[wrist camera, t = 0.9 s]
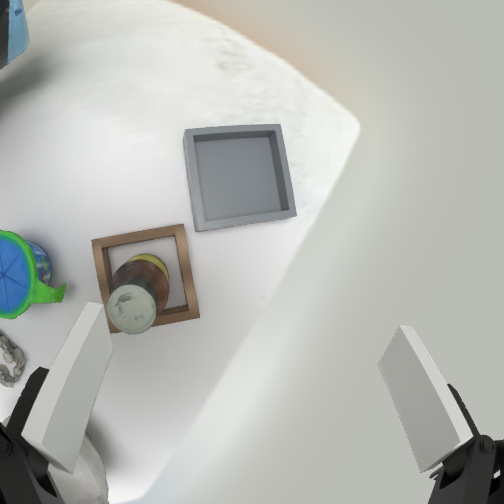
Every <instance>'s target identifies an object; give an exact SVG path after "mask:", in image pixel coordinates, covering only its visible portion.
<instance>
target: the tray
mask: <svg viewBox="0 0 504 504" xmlns="http://www.w3.org/2000/svg"><path fill="white" fill-rule="evenodd" d="M183 144H184V153H185V161H186V169H187V177H188V184H189V192H190V199H191V206H192V213H193V219H194V226H195V232H200V231H206V230H212V229H219V228H225V227H232V226H238V225H245V224H251V223H258V222H265V221H272V220H279V219H286V218H291V217H295V216H297V213H296V207H295V201H294V195H293V189H292V183H291V178H290V172H289V167H288V161H287V156H286V150H285V145H284V140H283V135H282V130H281V125H280V124H260V125H235V126H219V127H206V128H195V129H185V132H184V137H183Z"/></svg>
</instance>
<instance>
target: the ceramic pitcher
mask: <svg viewBox="0 0 504 504" xmlns="http://www.w3.org/2000/svg"><path fill="white" fill-rule="evenodd" d="M10 417H11V416H9V417H8V418H6V419H5V420H4V421H3V422H2V424H3V425H4V426H5V427H6V426H7V424H8V422H9V419H10ZM48 470H49V472H50V474H51V476H52V478H53V480H54V482H55V484H56V487H57V489H58V491H59V493H60V495H61V496H62V498H63V500H64V502H65V504H109V502H108V490H109V489H108V484H107V480H106V472H105V468H104V465H103V462H102V460H101V457H100V455H99V454H98V453H97V451H96V450H95V448H94V447H93V445H92V444H91V438H90V437H89V435H88V434H87V433H86V432H85V434H84V437H83V441H82V444H81V448H80V451H79V455H78V459H77V462H76V466H75V470H74V474H73V475H72V474H69V473H67V472H64V471H61V470H59V469H56V468H55V467H54V466H52V465H51V464H50V463H49V465H48Z"/></svg>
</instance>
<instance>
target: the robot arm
mask: <svg viewBox="0 0 504 504" xmlns="http://www.w3.org/2000/svg"><path fill="white" fill-rule="evenodd" d="M29 41H30V37H29V32H28V27H27V22H26V18H25V13H24V8H23V3H22V0H0V69H2V68H3V67H4V66H6V65H8V64H9V63H10V61H12V60H13V59H14V58H16V57H17V56H18V55H20V54H21V53H22V52H24V51H25V49H26V48H27V47H28V44H29ZM113 350H114V349H113V345H112V341H111V337H110V333H109V328H108V324H107V319H106V314H105V309H104V304H99V303H93V302H87V304H86V305H85V307H84V309H83V310H82V312H81V314H80V315H79V317H78V319H77V320H76V322H75V324H74V326H73V327H72V329H71V331H70V333H69V335H68V336H67V338H66V340H65V342H64V344H63V346H62V347H61V349H60V351H59V353H58V355H57V357H56V359H55V361H54V363H53V365H52V367H51V369H50V370H49V369H45V368H42V367H39V368H38V369H37V370H36V371H34V372H33V373H32V374H31V375H30V377H29V379H28V381H27V383H26V385H25V388H24V389H23V391H22V393H21V397H19V399H18V401H17V404H16V406H15V408H14V410H13V412H12V415H11V417H10V419H9V422H8V424H7V426H6V427H5V426H4V425H3V424H2V423H1V422H0V504H65V502H64V500H63V498H62V496H61V495H60V493H59V491H58V489H57V487H56V484H55V482H54V480H53V478H52V476H51V474H50V472H49V470H48V465H49V463H50V464H51V465H52V466H54V467H55V468H56V469H59V470H61V471H64V472H67V473H69V474H72V475H73V474H74V470H75V466H76V462H77V459H78V455H79V451H80V448H81V444H82V441H83V437H84V434H85V430H86V427H87V424H88V421H89V417H90V414H91V411H92V408H93V405H94V402H95V399H96V396H97V393H98V390H99V388H100V385H101V382H102V379H103V376H104V374H105V371H106V368H107V365H108V363H109V360H110V358H111V355H112V352H113ZM377 365H378V368H379V370H380V372H381V374H382V377H383V379H384V381H385V383H386V386H387V388H388V391H389V393H390V395H391V398H392V400H393V402H394V405H395V407H396V410H397V412H398V415H399V417H400V420H401V422H402V425H403V427H404V430H405V432H406V435H407V438H408V440H409V443H410V445H411V448H412V451H413V453H414V456H415V459H416V462H417V465H418V467H419V470H420V473H422V472H425V471H427V470H430V469H432V468H434V467H436V466H437V465H438V464H440V463H441V462H442V463H443V466H442V467H440V468H439V469H437V470H436V471H435V472H433V473H432V474H431V475H430V477H429V478H433V477H434V476H435V475H437V474H438V476H436V477H435V478H434V480H436V482H435V485H434V488H433V491H432V494H431V497H430V499H429V502H428V504H504V440H496V441H493V440H492V439H491V438H490V437H489V436H487V435H480V434H479V432H478V430H477V428H476V426H475V424H474V422H473V420H472V418H471V416H470V414H469V412H468V410H467V409H466V408H465V405H464V403H463V402H462V399H461V397H460V396H459V394H458V392H457V391H456V390H455V389H454V388H453V387H452V386H451V385H450V384H446V382H445V380H444V379H443V377H442V375H441V373H440V372H439V370H438V368H437V366H436V365H435V363H434V361H433V360H432V358H431V356H430V355H429V353H428V351H427V350H426V348H425V347H424V345H423V343H422V342H421V340H420V338H419V337H418V335H417V334H416V332H415V330H414V329H413V327H412V326H411V325H401V326H399V327H398V329H397V331H396V332H395V334H394V336H393V338H392V340H391V342H390V344H389V345H388V347H387V349H386V351H385V352H384V354H383V356H382V357H381V359H380V361H379V363H378V364H377ZM499 470H500V476H498V477H497V478H494V474H495V473H496V472H497V471H499Z"/></svg>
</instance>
